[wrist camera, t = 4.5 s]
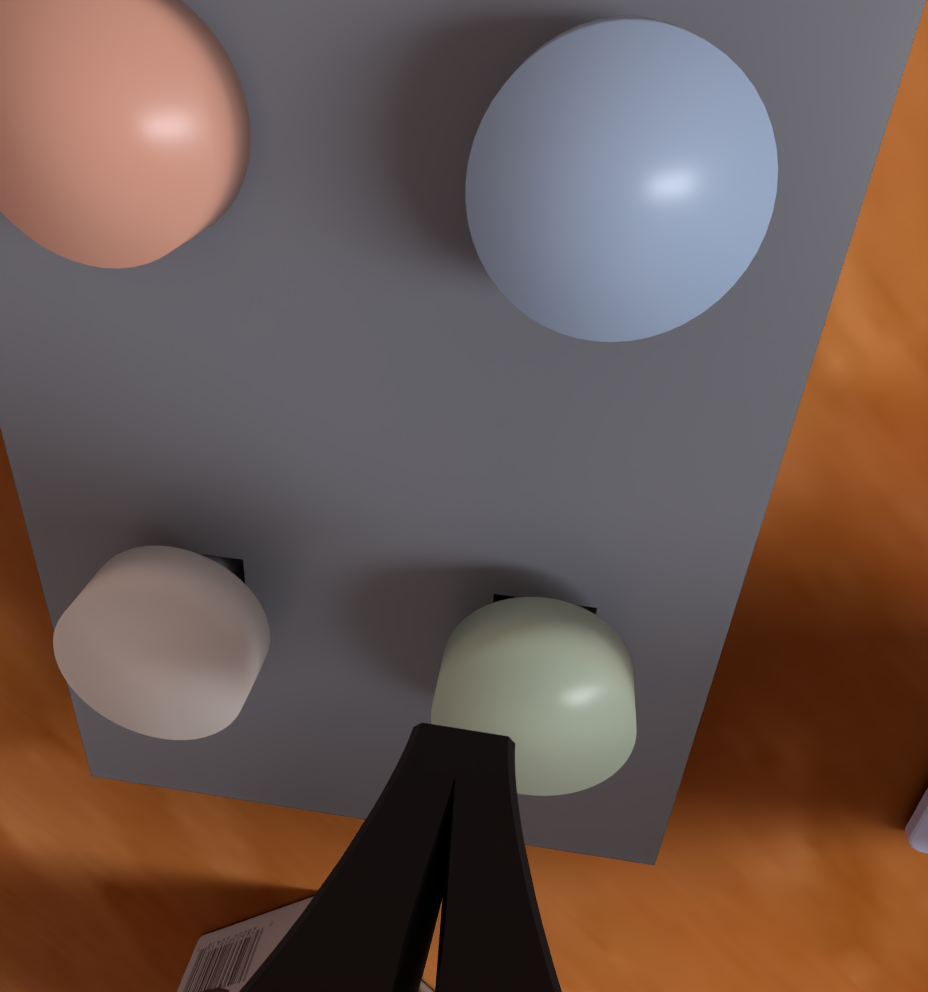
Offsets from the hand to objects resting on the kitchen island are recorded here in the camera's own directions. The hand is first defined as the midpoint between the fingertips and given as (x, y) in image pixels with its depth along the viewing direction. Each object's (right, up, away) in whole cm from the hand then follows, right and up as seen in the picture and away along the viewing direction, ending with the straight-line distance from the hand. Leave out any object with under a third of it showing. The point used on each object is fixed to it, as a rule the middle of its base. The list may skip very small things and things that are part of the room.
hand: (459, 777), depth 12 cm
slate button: (+2, +9, +1) cm, 10 cm away
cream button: (-5, +3, +6) cm, 9 cm away
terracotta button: (-4, +11, +2) cm, 12 cm away
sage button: (+2, +2, +6) cm, 6 cm away
